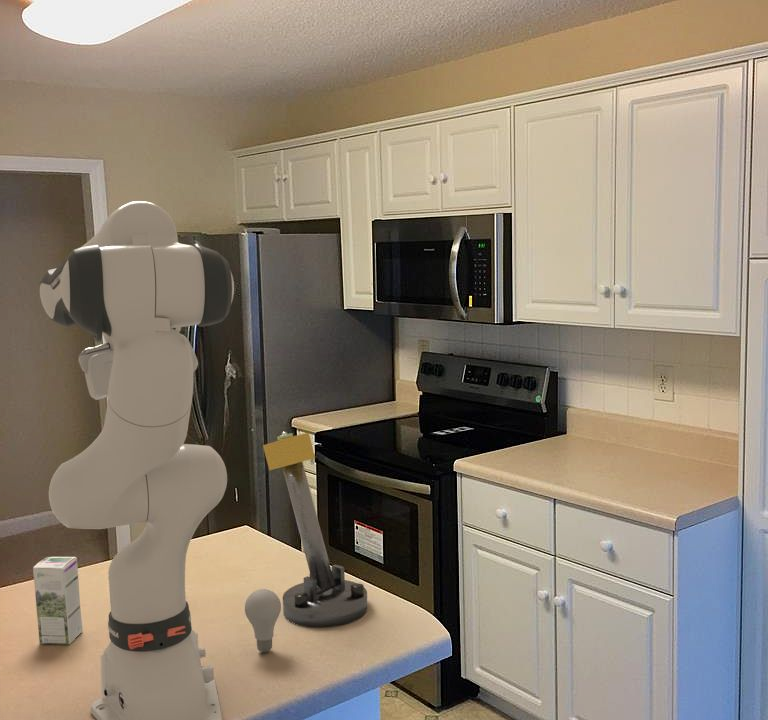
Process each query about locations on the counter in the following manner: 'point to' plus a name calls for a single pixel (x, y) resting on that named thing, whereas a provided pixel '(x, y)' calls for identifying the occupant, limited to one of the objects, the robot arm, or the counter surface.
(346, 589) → the tribrach base
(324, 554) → the instrument mast
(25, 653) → the counter surface
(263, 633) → the lightbulb
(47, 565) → the syrup box
